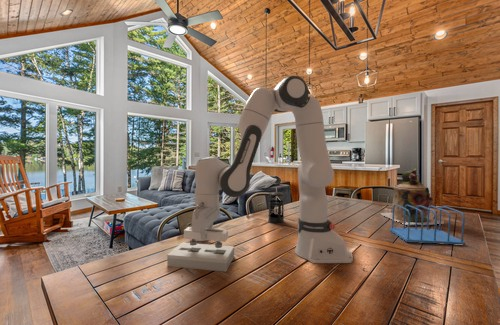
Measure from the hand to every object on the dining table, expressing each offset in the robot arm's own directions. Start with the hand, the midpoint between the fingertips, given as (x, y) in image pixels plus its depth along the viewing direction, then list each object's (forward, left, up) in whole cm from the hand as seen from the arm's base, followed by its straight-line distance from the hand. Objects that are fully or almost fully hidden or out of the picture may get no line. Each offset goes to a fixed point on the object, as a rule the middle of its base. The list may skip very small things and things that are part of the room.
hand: (206, 236), depth 92 cm
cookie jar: (-104, -77, -10) cm, 130 cm away
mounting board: (+2, 0, -10) cm, 10 cm away
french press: (-22, -59, -10) cm, 63 cm away
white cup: (+11, -23, -10) cm, 27 cm away
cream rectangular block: (0, 0, -3) cm, 3 cm away
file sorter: (-96, -44, -10) cm, 106 cm away
